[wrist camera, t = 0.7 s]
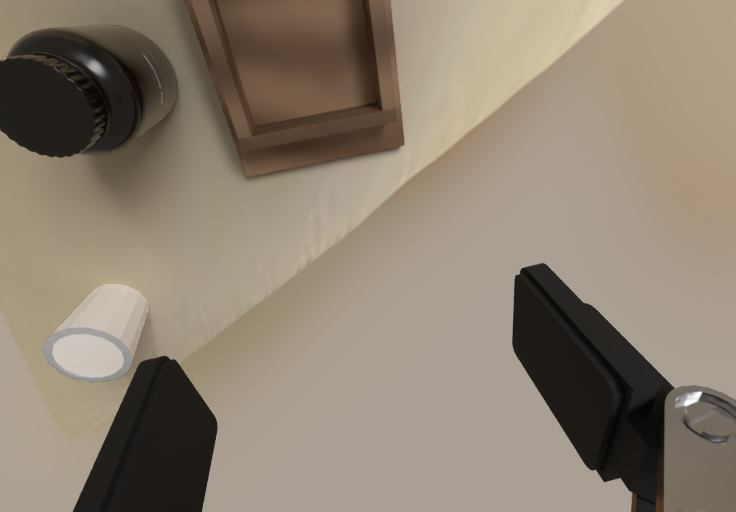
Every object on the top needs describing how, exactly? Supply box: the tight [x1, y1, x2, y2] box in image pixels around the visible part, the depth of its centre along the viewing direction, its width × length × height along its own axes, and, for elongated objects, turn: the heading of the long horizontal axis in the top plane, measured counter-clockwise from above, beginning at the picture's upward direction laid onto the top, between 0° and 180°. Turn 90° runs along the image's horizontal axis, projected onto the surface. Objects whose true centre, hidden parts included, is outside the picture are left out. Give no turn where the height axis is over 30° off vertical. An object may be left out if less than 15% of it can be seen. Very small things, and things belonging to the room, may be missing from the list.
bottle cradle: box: [185, 0, 404, 177], centre depth 28 cm, size 18×14×4 cm
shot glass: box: [43, 284, 149, 382], centre depth 37 cm, size 7×7×7 cm
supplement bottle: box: [0, 25, 177, 158], centre depth 24 cm, size 7×7×12 cm
